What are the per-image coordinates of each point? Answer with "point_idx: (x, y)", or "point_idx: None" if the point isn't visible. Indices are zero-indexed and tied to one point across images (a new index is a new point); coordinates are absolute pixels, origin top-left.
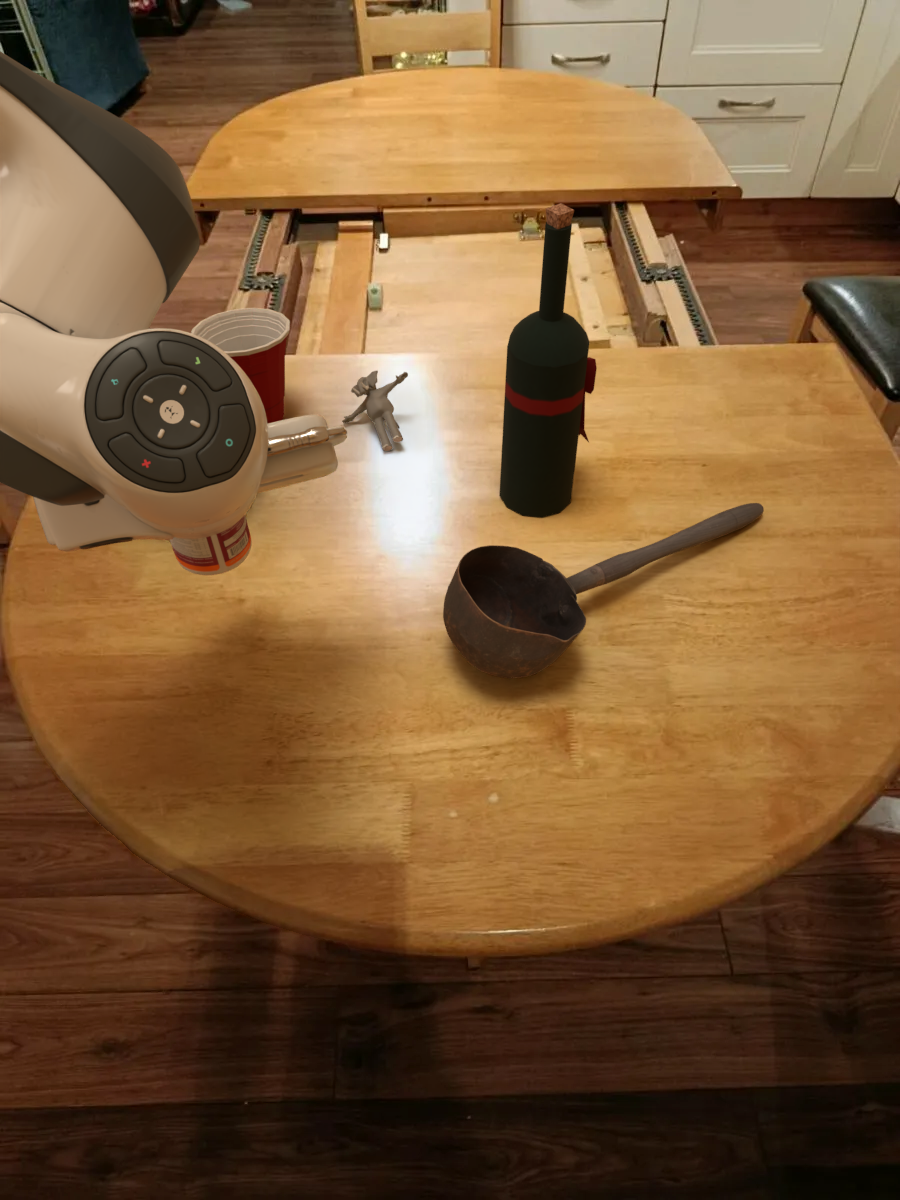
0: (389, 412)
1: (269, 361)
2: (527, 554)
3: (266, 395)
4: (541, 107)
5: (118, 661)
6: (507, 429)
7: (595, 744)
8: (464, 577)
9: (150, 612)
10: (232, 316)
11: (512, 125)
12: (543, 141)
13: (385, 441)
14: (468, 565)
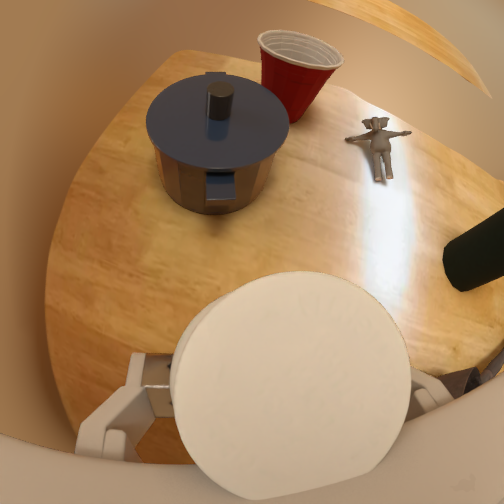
0: (389, 153)
1: (320, 78)
2: (476, 370)
3: (301, 100)
4: (419, 25)
5: (115, 347)
6: (491, 242)
7: None
8: None
9: (148, 298)
10: (292, 35)
11: (410, 24)
12: (424, 37)
13: (379, 174)
14: (449, 383)
